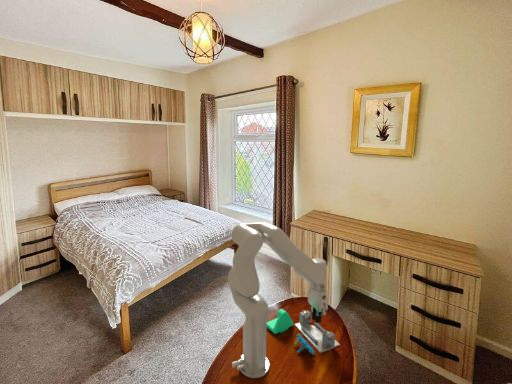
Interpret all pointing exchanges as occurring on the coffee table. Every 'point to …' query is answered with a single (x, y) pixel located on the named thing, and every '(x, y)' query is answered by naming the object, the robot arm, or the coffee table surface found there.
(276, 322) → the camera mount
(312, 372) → the coffee table surface
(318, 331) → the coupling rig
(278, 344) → the coffee table surface
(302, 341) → the gear
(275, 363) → the coffee table surface
